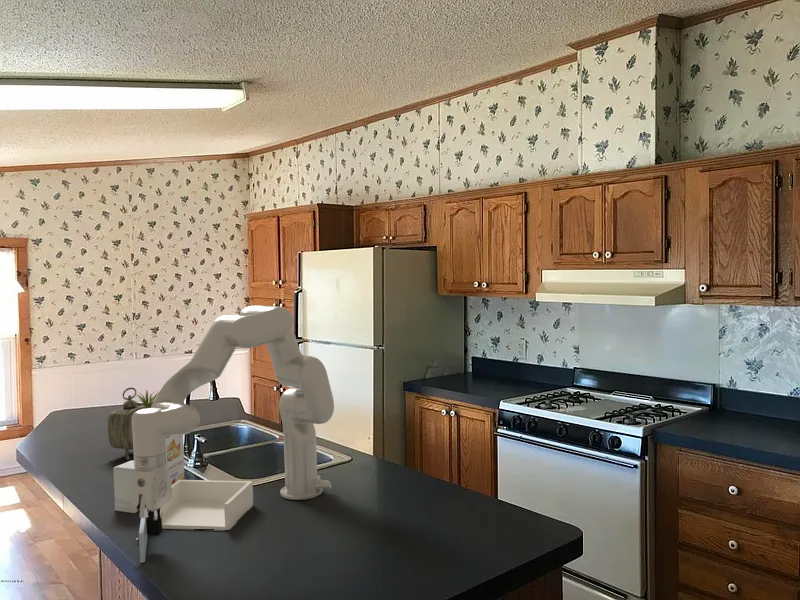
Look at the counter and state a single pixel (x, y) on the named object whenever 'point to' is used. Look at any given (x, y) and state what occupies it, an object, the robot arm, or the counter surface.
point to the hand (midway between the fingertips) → (154, 534)
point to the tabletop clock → (123, 424)
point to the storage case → (207, 504)
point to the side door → (142, 540)
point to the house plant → (145, 401)
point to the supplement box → (124, 487)
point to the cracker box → (175, 457)
